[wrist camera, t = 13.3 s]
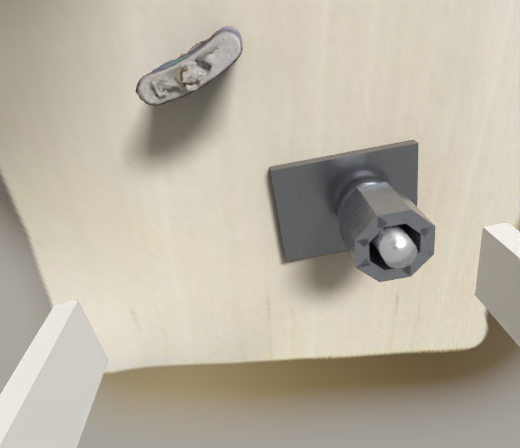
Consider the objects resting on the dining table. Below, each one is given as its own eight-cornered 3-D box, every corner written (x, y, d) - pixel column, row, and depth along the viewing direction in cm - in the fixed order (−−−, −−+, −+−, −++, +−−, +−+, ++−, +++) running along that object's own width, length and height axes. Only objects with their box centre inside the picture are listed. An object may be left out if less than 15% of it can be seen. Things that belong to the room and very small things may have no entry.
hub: (336, 191, 40) (353, 220, 35) (407, 177, 40) (436, 205, 35) (341, 250, 44) (357, 285, 38) (406, 238, 44) (432, 272, 38)
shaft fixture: (269, 166, 43) (281, 216, 33) (413, 139, 43) (473, 181, 32) (284, 256, 49) (299, 323, 38) (412, 233, 48) (462, 294, 38)
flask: (233, 20, 36) (233, 23, 27) (248, 51, 38) (253, 64, 28) (149, 70, 38) (122, 89, 28) (166, 97, 39) (146, 125, 30)
